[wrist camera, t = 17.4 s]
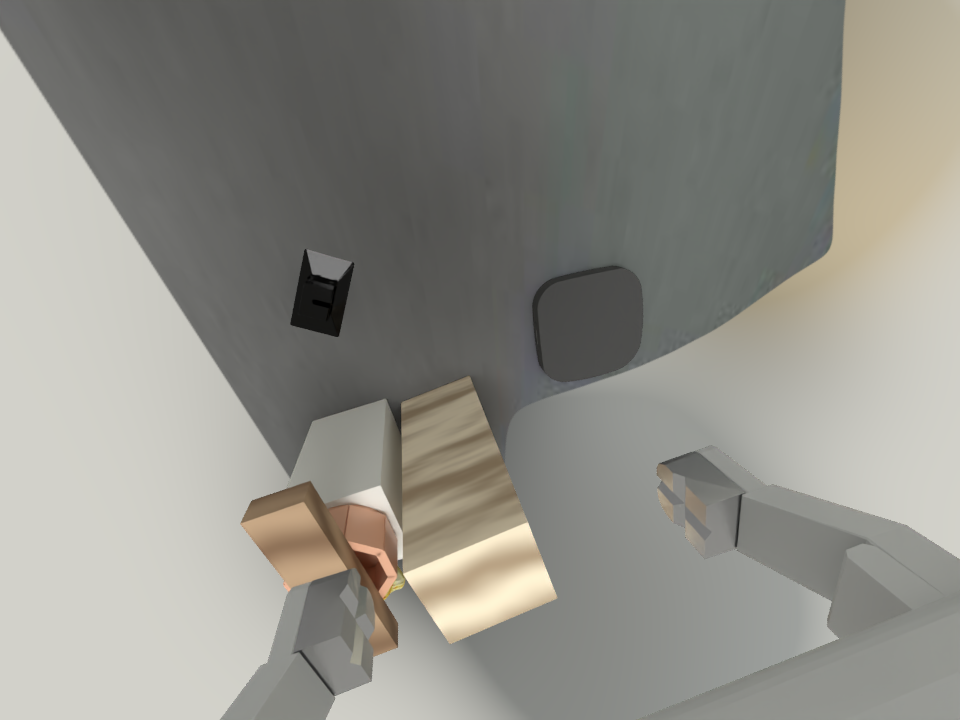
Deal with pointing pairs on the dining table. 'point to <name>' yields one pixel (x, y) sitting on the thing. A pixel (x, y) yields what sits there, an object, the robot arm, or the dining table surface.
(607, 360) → the media streaming box
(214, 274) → the dining table surface
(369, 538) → the bowl
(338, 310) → the black slotted wedge
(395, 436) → the block
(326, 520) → the lid slat
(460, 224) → the dining table surface
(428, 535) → the stand
